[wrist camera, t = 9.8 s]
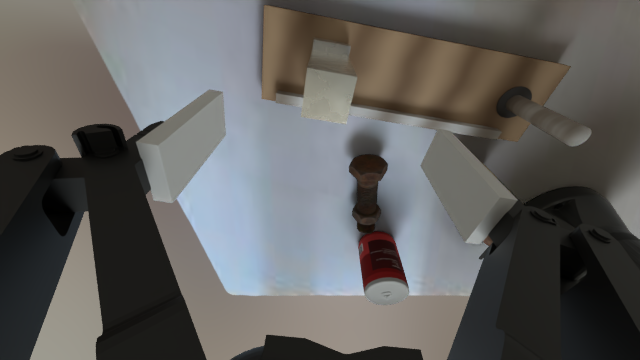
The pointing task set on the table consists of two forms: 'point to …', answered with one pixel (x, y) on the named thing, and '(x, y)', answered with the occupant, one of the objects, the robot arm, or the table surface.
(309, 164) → the table surface
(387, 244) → the canned food
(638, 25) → the table surface
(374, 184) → the bolt
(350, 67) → the block
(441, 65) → the board
